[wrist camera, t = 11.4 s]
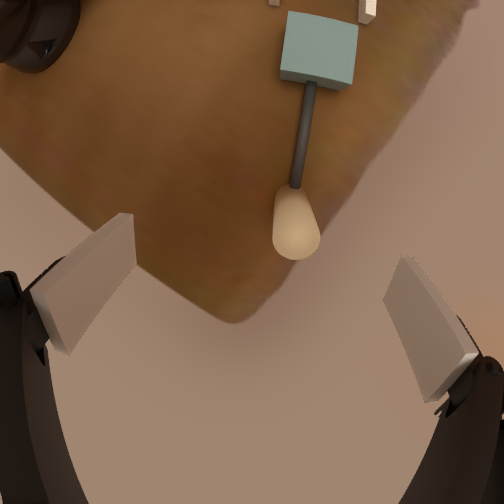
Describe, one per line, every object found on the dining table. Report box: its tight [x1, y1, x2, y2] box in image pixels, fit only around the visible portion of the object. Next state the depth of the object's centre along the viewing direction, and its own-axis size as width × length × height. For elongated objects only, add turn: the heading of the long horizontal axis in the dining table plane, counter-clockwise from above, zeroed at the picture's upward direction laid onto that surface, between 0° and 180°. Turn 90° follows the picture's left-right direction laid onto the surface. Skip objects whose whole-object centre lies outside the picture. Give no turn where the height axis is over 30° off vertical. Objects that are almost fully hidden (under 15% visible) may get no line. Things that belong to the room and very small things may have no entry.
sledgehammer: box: [272, 11, 358, 260], centre depth 23 cm, size 7×24×12 cm, turn 172°
